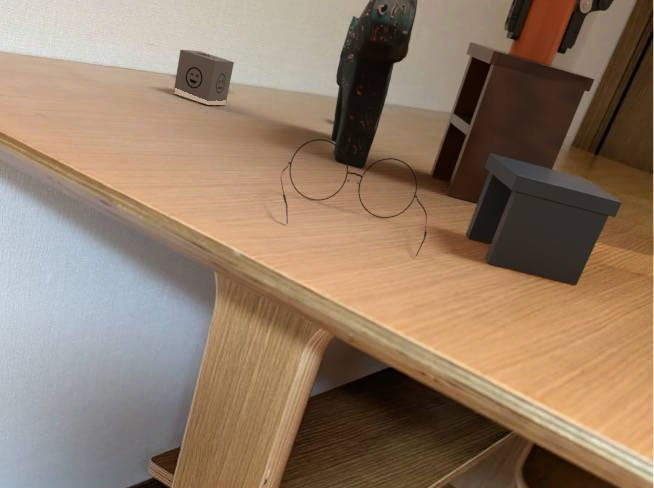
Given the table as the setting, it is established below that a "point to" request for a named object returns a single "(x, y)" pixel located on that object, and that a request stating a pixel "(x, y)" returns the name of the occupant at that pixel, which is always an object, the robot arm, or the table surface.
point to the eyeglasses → (357, 183)
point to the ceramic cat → (368, 74)
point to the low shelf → (539, 219)
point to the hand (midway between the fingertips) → (535, 45)
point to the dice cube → (203, 75)
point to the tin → (543, 30)
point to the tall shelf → (505, 117)
